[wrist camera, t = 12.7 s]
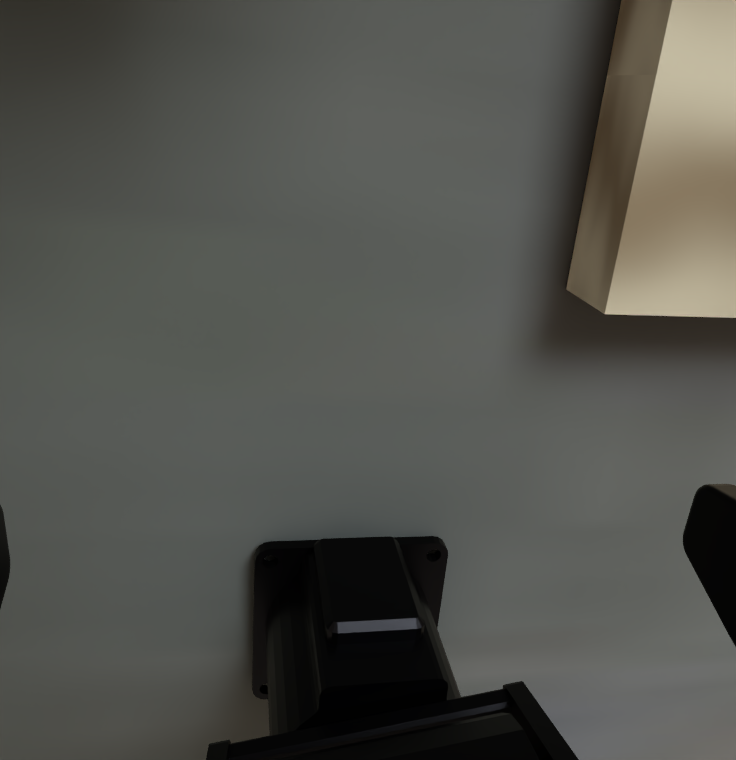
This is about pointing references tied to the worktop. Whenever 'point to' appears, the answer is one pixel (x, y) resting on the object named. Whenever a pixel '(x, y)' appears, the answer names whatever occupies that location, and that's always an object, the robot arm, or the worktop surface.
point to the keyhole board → (663, 167)
